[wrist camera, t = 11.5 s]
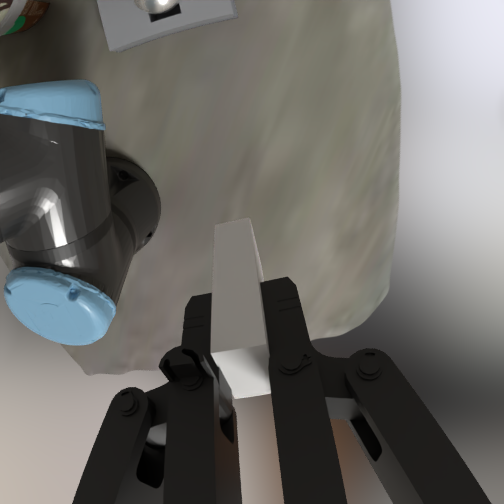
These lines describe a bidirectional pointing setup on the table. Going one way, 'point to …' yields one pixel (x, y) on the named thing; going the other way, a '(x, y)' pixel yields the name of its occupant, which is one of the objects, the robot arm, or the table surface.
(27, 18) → the food container
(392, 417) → the robot arm
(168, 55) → the table surface
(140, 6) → the knob
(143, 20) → the mount
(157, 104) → the table surface
